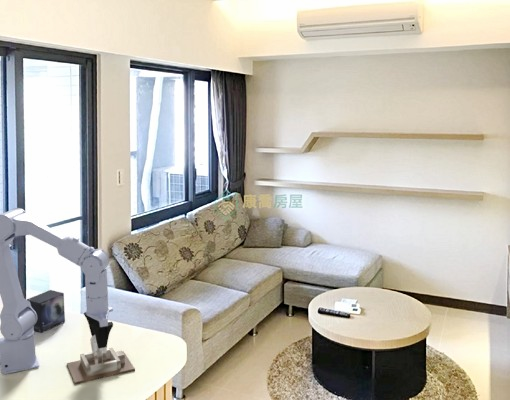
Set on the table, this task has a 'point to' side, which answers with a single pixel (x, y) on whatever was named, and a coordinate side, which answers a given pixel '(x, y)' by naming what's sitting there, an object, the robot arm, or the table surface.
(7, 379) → the table surface
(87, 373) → the pocket plate
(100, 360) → the milkshake
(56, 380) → the table surface
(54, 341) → the table surface
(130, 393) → the table surface
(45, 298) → the small box
